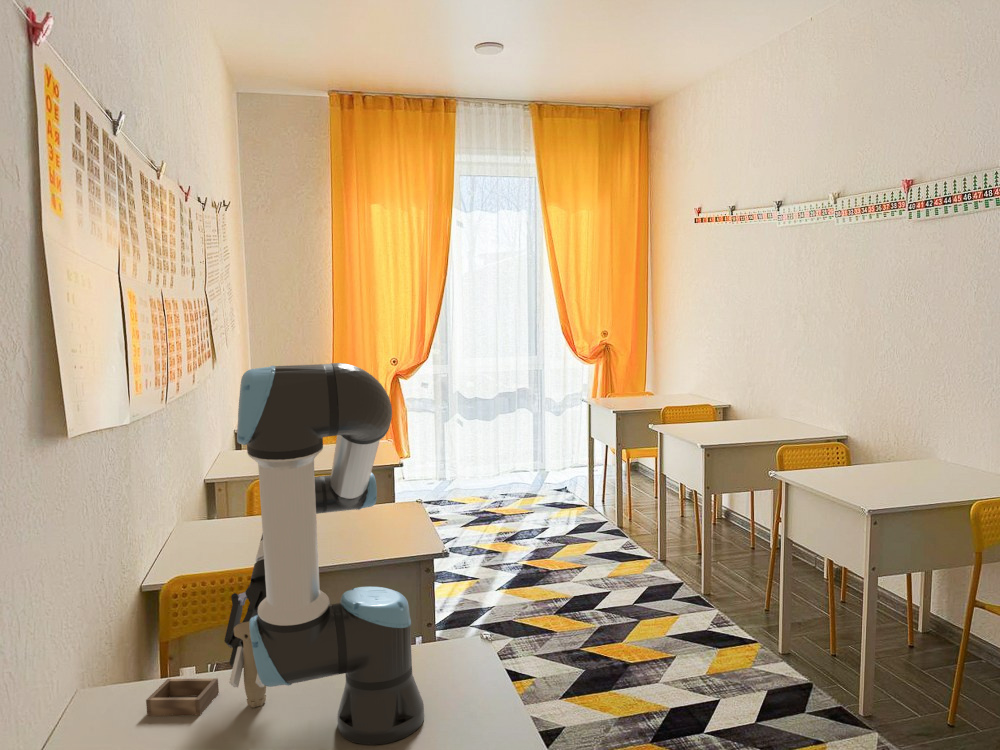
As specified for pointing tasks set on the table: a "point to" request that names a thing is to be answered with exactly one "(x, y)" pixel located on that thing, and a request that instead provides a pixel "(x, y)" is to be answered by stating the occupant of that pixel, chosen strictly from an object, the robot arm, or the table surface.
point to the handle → (250, 667)
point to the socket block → (182, 706)
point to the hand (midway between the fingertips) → (246, 684)
